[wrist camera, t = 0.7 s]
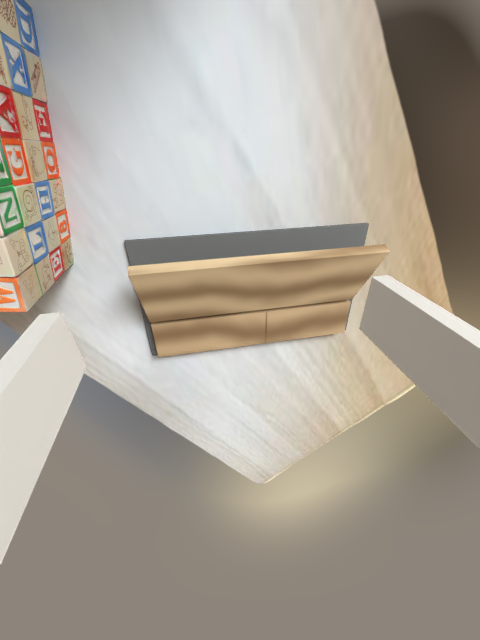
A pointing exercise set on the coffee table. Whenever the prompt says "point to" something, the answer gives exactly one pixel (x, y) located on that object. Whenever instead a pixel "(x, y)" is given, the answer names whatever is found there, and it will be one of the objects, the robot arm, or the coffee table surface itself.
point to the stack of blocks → (27, 170)
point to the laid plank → (249, 327)
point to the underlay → (240, 247)
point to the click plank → (253, 281)
